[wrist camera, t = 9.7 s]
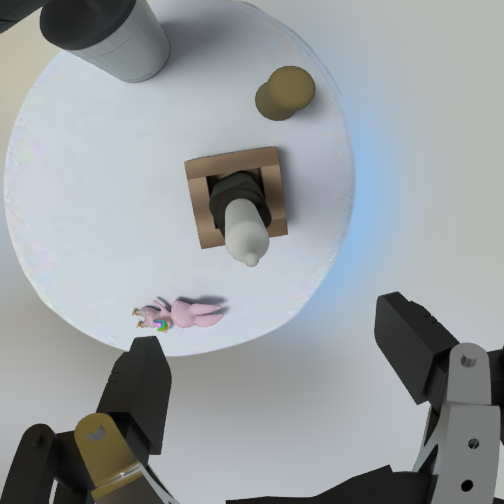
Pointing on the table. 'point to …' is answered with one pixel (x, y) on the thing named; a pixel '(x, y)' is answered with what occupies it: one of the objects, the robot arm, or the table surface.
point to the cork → (285, 93)
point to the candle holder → (218, 166)
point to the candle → (241, 216)
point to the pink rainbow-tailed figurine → (178, 315)
